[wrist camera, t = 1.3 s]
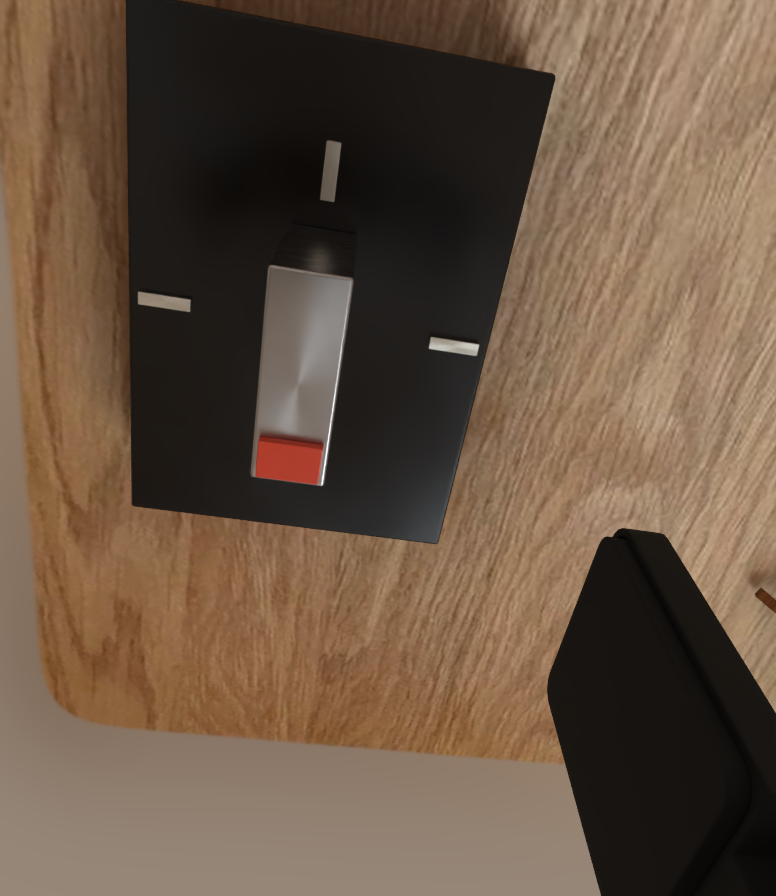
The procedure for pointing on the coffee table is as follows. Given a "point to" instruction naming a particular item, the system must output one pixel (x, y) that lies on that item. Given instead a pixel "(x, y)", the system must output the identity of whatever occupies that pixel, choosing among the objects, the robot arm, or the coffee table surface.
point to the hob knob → (302, 353)
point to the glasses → (766, 599)
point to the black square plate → (327, 207)
